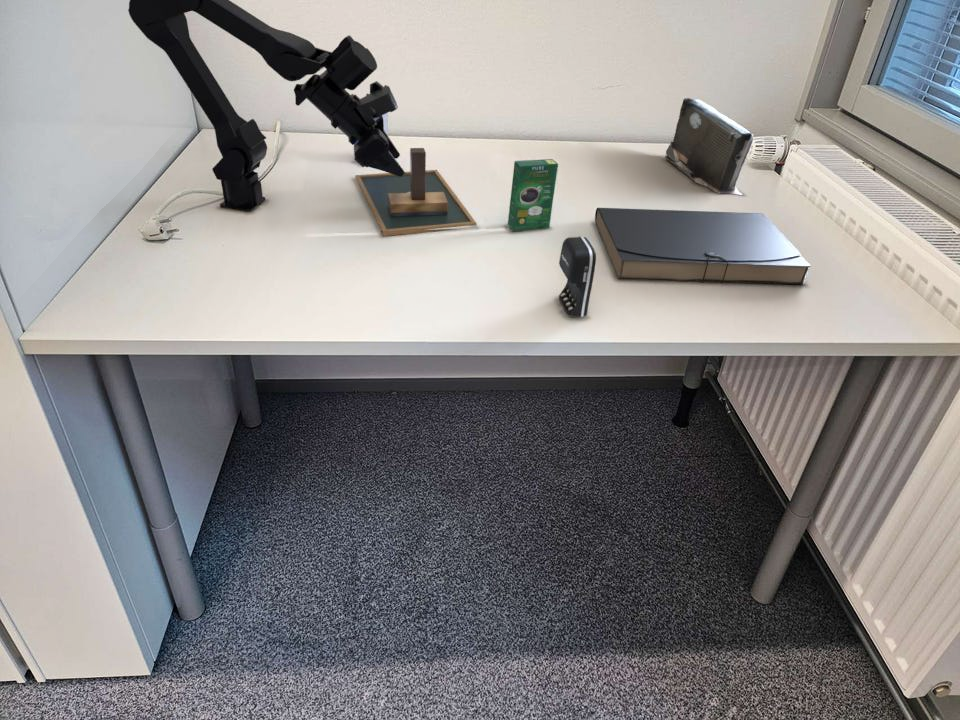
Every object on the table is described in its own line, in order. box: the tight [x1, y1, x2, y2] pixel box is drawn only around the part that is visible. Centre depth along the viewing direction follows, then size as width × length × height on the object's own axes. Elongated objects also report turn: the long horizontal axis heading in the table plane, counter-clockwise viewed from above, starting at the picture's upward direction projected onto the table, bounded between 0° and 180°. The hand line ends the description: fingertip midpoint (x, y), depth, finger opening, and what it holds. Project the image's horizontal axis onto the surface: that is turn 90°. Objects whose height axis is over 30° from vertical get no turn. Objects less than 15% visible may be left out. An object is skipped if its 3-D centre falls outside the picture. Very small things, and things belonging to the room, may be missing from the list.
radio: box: [664, 97, 755, 196], centre depth 159 cm, size 23×9×15 cm, turn 12°
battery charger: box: [558, 235, 597, 318], centre depth 109 cm, size 7×4×11 cm, turn 11°
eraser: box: [388, 147, 448, 217], centre depth 134 cm, size 11×5×12 cm, turn 102°
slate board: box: [355, 169, 477, 237], centre depth 142 cm, size 28×18×1 cm, turn 18°
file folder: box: [594, 207, 812, 285], centre depth 130 cm, size 33×4×24 cm
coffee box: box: [507, 158, 559, 232], centre depth 132 cm, size 8×3×13 cm, turn 110°
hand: (400, 165), depth 132 cm, fingers open, 9 cm apart
